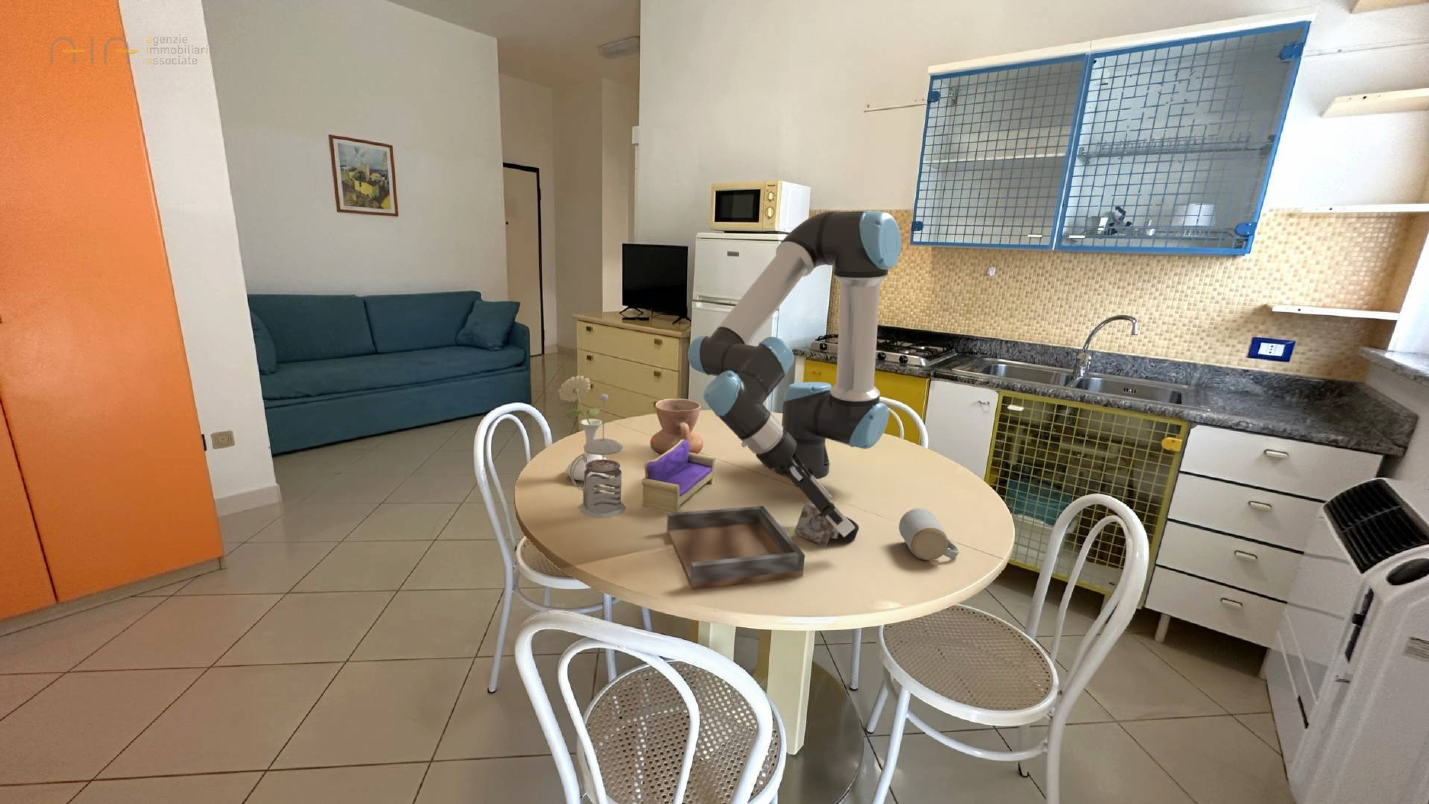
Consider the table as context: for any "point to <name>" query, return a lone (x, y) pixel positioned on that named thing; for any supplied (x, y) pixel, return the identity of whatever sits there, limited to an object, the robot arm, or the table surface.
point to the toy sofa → (675, 477)
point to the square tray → (732, 547)
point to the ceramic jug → (676, 425)
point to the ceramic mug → (925, 535)
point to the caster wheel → (820, 527)
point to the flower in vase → (571, 392)
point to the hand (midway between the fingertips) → (837, 515)
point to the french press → (593, 499)
